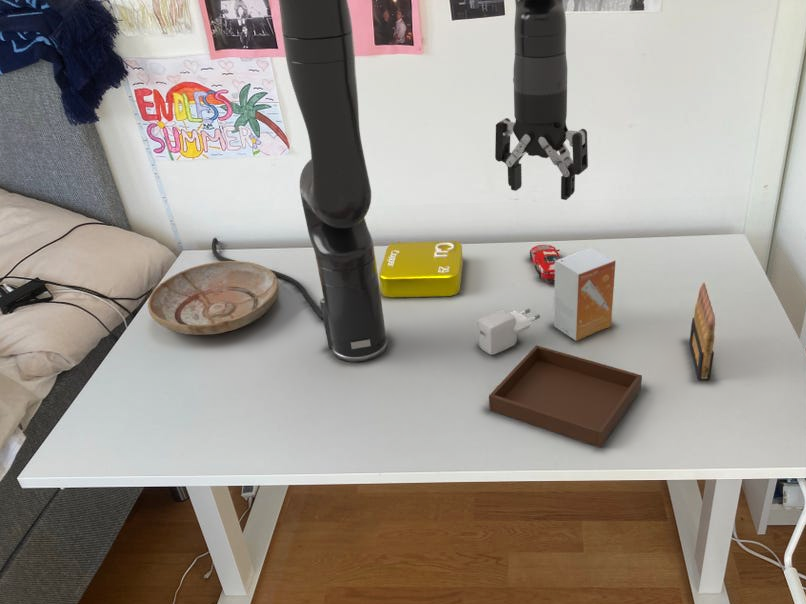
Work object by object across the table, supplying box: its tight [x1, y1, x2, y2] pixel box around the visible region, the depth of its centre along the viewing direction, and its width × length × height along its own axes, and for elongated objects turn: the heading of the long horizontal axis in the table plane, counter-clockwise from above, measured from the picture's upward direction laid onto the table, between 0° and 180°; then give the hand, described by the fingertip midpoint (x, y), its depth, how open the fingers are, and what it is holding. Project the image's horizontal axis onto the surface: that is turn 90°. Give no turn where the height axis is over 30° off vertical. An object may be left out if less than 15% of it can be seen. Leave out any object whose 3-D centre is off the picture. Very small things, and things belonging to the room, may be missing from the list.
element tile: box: [378, 240, 464, 299], centre depth 152 cm, size 15×15×5 cm
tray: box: [488, 345, 643, 449], centre depth 119 cm, size 18×15×3 cm
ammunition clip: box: [688, 282, 716, 382], centre depth 122 cm, size 11×2×12 cm, turn 175°
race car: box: [529, 244, 562, 283], centre depth 153 cm, size 13×5×4 cm, turn 8°
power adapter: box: [477, 308, 541, 356], centre depth 132 cm, size 11×5×6 cm, turn 127°
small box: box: [553, 247, 617, 342], centre depth 132 cm, size 8×6×13 cm
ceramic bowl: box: [147, 260, 280, 336], centre depth 144 cm, size 23×24×5 cm
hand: (540, 193), depth 119 cm, fingers open, 8 cm apart
